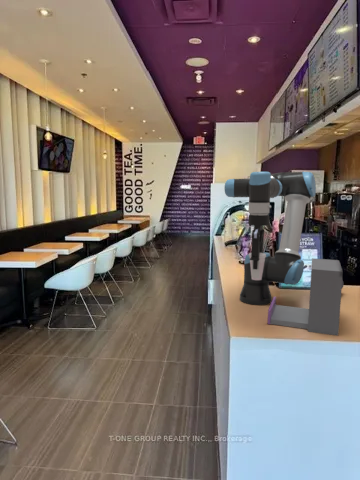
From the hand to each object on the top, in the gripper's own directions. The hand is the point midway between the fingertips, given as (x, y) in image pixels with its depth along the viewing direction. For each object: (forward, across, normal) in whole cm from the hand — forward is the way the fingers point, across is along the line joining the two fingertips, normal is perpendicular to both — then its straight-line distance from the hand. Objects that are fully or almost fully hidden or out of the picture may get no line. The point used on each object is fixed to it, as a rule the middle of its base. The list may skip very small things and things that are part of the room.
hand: (256, 275), depth 132 cm
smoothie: (+2, 0, 0) cm, 2 cm away
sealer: (+21, +15, -24) cm, 36 cm away
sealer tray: (+21, +15, -12) cm, 28 cm away
